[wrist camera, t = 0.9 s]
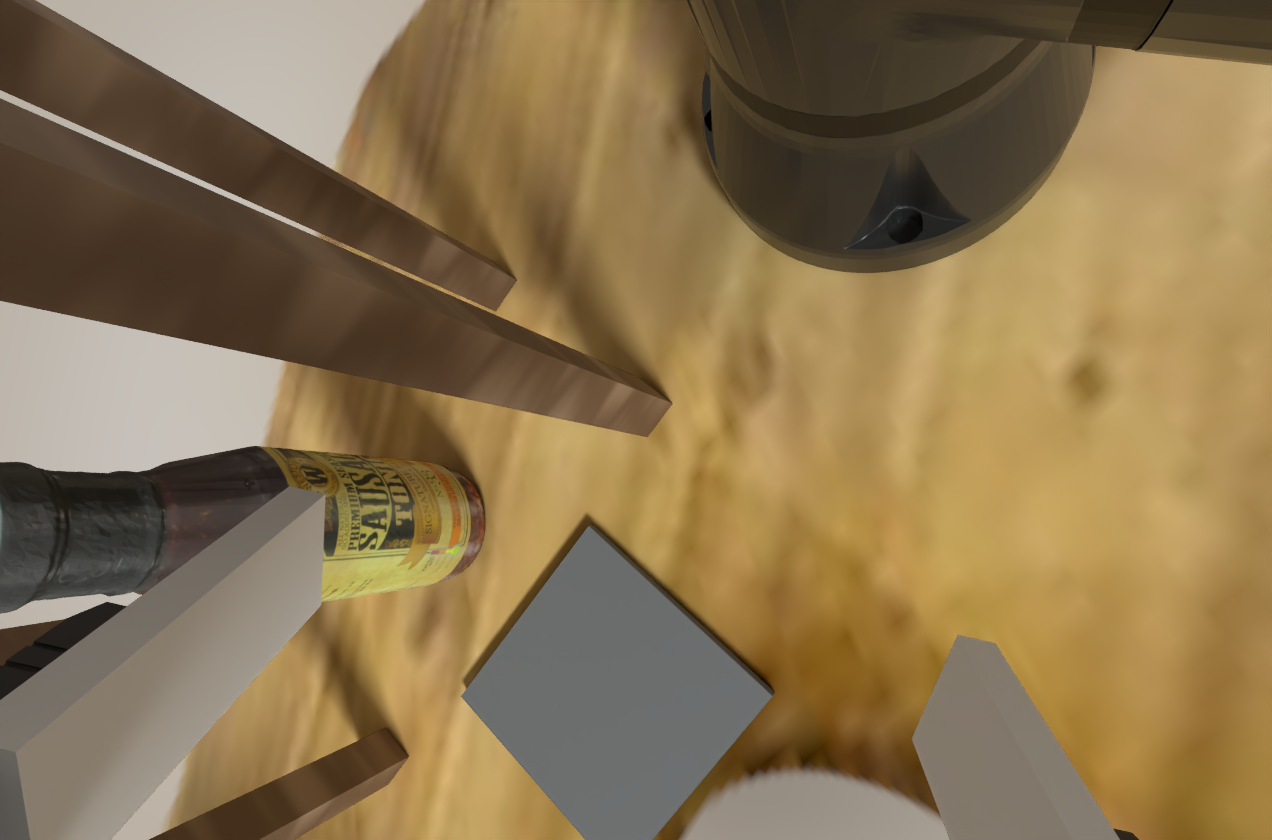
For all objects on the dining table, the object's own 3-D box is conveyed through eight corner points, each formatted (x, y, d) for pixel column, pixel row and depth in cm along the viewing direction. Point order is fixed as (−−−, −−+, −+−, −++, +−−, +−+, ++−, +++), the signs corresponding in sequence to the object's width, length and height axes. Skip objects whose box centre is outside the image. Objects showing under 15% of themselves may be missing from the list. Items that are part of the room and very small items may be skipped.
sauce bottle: (514, 531, 34) (68, 581, 16) (433, 606, 35) (-69, 734, 17) (448, 434, 36) (-18, 377, 18) (373, 508, 37) (-134, 527, 19)
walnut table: (491, 260, 36) (-1378, -805, 6) (672, 403, 32) (-2602, -864, 2) (255, 612, 40) (-1649, 981, 10) (388, 784, 35) (-2313, 2367, 6)
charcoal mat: (593, 525, 33) (588, 525, 32) (775, 692, 29) (772, 696, 28) (468, 693, 34) (461, 696, 34) (624, 871, 30) (619, 878, 30)
